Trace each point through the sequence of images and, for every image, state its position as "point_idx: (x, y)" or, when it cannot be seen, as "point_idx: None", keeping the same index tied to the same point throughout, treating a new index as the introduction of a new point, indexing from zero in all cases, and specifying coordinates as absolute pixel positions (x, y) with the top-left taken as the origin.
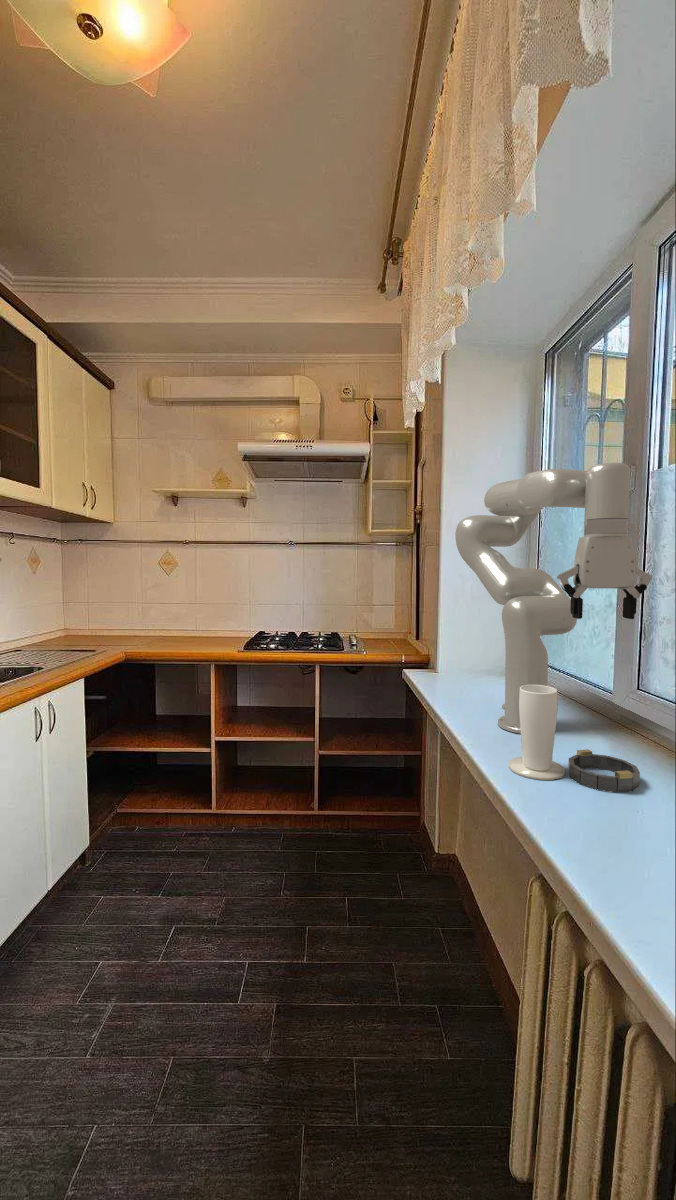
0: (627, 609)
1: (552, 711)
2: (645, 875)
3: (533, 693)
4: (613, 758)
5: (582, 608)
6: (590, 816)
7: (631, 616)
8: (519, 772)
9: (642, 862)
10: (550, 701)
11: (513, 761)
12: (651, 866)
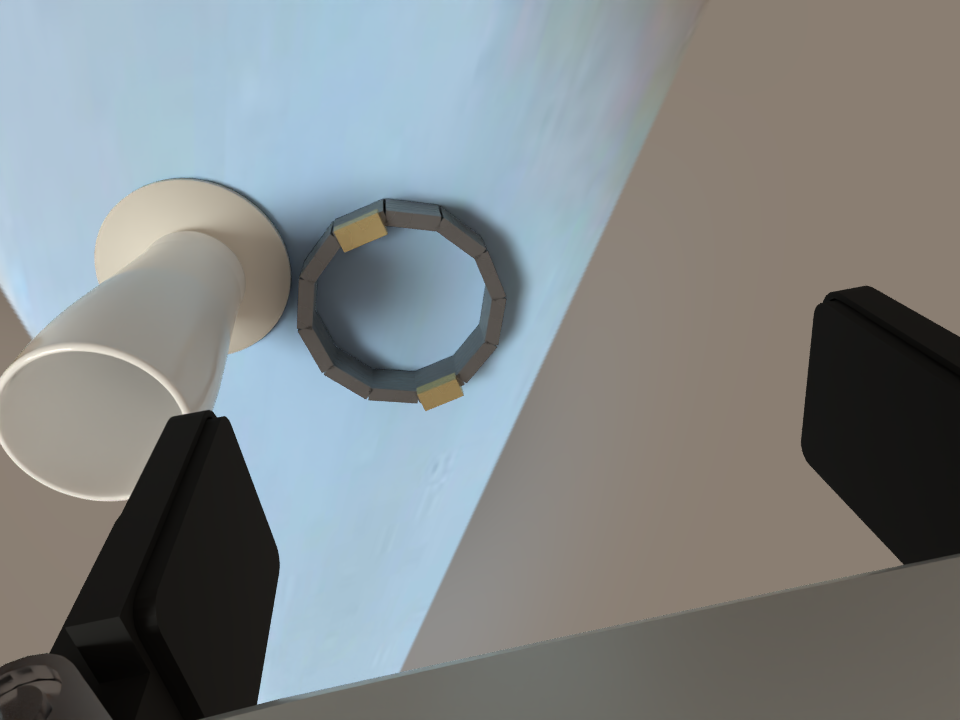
0: (867, 461)
1: None
2: (374, 663)
3: (78, 497)
4: (454, 242)
5: (263, 656)
6: (322, 514)
7: (823, 472)
8: None
9: (381, 634)
10: None
11: (110, 246)
12: (392, 640)
